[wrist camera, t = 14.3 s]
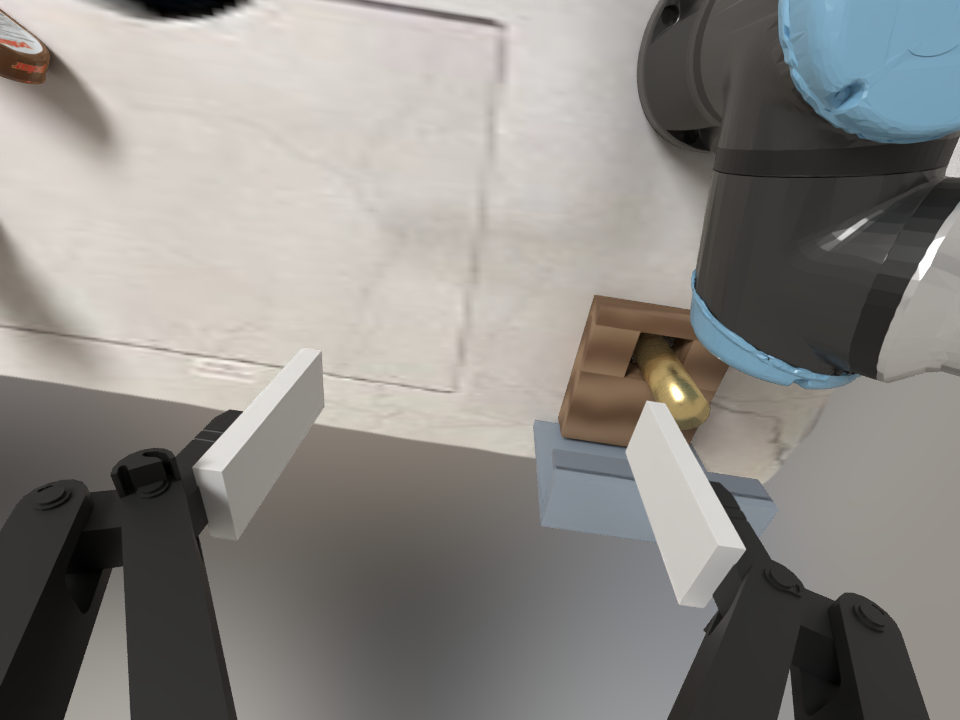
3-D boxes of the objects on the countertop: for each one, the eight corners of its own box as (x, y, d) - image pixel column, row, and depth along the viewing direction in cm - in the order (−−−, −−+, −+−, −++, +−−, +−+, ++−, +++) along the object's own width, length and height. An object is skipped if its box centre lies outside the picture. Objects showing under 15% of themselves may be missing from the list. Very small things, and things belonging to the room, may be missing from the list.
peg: (666, 351, 52) (713, 423, 39) (634, 361, 53) (669, 434, 40) (659, 323, 50) (706, 390, 38) (626, 335, 51) (660, 403, 39)
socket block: (594, 294, 49) (601, 308, 45) (729, 316, 49) (746, 331, 45) (558, 417, 57) (561, 436, 54) (672, 435, 58) (683, 455, 54)
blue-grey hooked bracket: (544, 384, 55) (556, 476, 41) (709, 409, 55) (779, 509, 41) (533, 426, 59) (540, 525, 44) (688, 450, 59) (745, 556, 45)
